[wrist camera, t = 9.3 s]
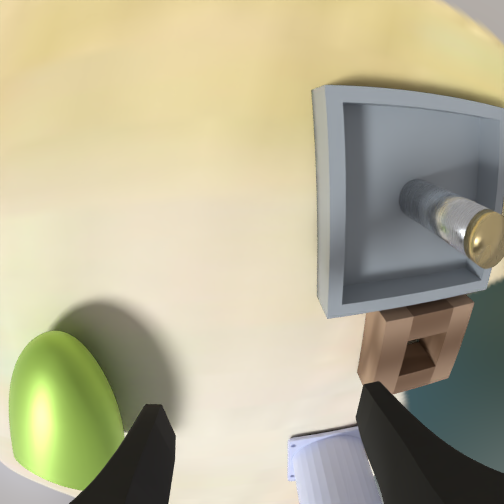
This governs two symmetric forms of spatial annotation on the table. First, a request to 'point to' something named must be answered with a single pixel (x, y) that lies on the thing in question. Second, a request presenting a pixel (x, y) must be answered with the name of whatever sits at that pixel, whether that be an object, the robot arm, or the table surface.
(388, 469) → the robot arm
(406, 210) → the pin
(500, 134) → the tray
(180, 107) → the table surface
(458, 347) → the pin block
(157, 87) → the table surface
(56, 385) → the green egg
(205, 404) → the table surface
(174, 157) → the table surface
